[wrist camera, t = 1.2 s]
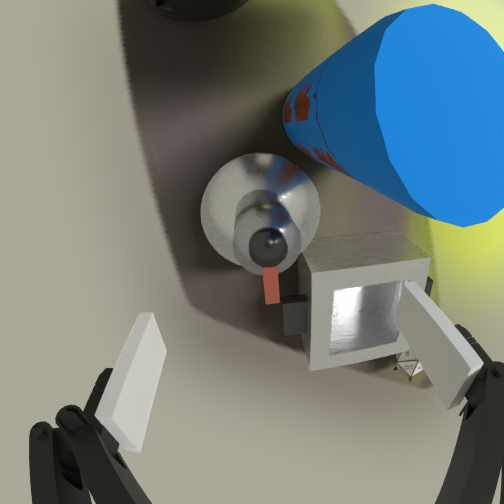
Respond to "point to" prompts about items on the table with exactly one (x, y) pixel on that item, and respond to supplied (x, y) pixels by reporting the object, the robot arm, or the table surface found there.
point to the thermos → (411, 114)
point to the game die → (408, 363)
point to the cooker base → (353, 296)
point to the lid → (261, 215)
